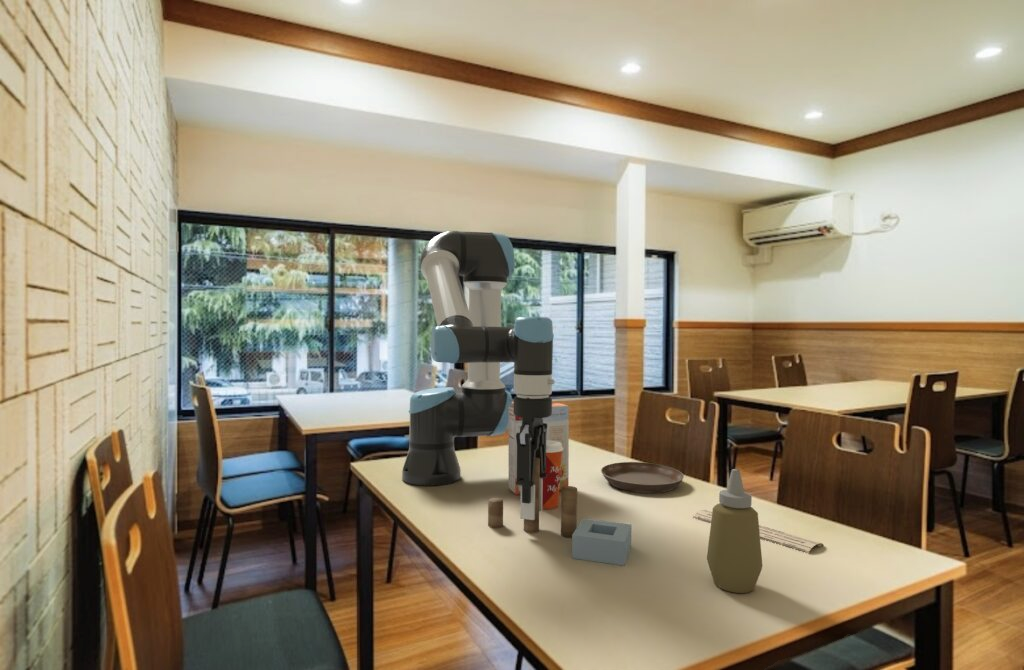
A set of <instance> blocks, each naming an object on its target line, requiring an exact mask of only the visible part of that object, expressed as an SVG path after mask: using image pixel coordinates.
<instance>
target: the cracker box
mask: <svg viewBox="0 0 1024 670" xmlns="http://www.w3.org/2000/svg"><path fill="white" fill-rule="evenodd" d="M569 409H570V406H569V405H567V404H564V403H561V402H555V403H553V402H552V414H551V416H549V417H546V418H543V423H547V433H546V440H552V441H558V442H561V444H562V447H563V449H564V450H563V451H562V459H561V474H560V488H559V492H560V491H561V488H562V487H564V486H569V477H570V476H569V475H570V473H569V471H570V470H569V459H570V455H569V454H570V453H569V452H570V451H569V447H570V445H569V441H570V440H569V439H570V437H569V435H570V434H569V431H570V430H569V429H570V427H569V425H570V424H569V419H570V418H569V413H570V412H569V411H570V410H569ZM508 416H509V424H508V428H507V430H508V490H510V491H511V492H512V493H513V494H514V495H517V496H518V495H519V496H520V495H521V485H516V482H517V441H516V434H517V433H520V427H521V426H522V418H521V417H517V416H515V415H514V404H512V405H509V414H508Z"/></svg>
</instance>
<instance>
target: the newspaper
mask: <svg viewBox="0 0 1024 670" xmlns="http://www.w3.org/2000/svg"><path fill="white" fill-rule="evenodd" d="M712 512H713V510H708V509H701V510H699V511H697V512H696V513H694V515H693V517H692V519H694V518H695V520H697V519H698V520H697V521H701V522H704V523H707V524H710V523H711V520H712ZM759 532H760V540H762V541H765V540H766V542H768V541H769V542H768V543H771V542H772V544H775V543H776V545H778V544H779V546H781V545H782V546H781V547H784V546H785V548H788V549H791V548H792V549H791V550H794V549H795V551H797V550H798V552H800V551H802V552H801V553H804V552H805V553H804V554H807V553H808V554H807V555H809V554H810V551H811V550H812V548H814V547H815V546H816V545H819V546H818V547H824V545H825V544H824V543H821V542H819V541H816V540H811V539H808V538H805V537H802V536H799V535H798V536H797V535H795V534H791V533H788V532H785V531H781V530H777V529H774V528H770V527H767V526H764V525H760V524H759ZM822 545H823V546H822Z"/></svg>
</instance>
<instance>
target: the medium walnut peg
mask: <svg viewBox="0 0 1024 670" xmlns="http://www.w3.org/2000/svg"><path fill="white" fill-rule="evenodd" d="M560 491H561V493H560V497H561V498H560V500H561V503H560V505H561V506H560V536H561V537H563V538H566V539H567V538H568V539H572V534H573V533H574V531H575V530H576V528H577V527H578V521H577V519H578V518H577V517H578V488H577V487H576V486H571V485H568V486H564V487H562V488H561V490H560Z"/></svg>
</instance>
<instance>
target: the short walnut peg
mask: <svg viewBox="0 0 1024 670" xmlns="http://www.w3.org/2000/svg"><path fill="white" fill-rule="evenodd" d="M487 508H488V509H487V513H488V514H487V527H489V528H491V527H492V529H499V528H503V526H504V500H503V499H502V498H497V497H495V498H494V497H493V498H490V499H488V503H487Z"/></svg>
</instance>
